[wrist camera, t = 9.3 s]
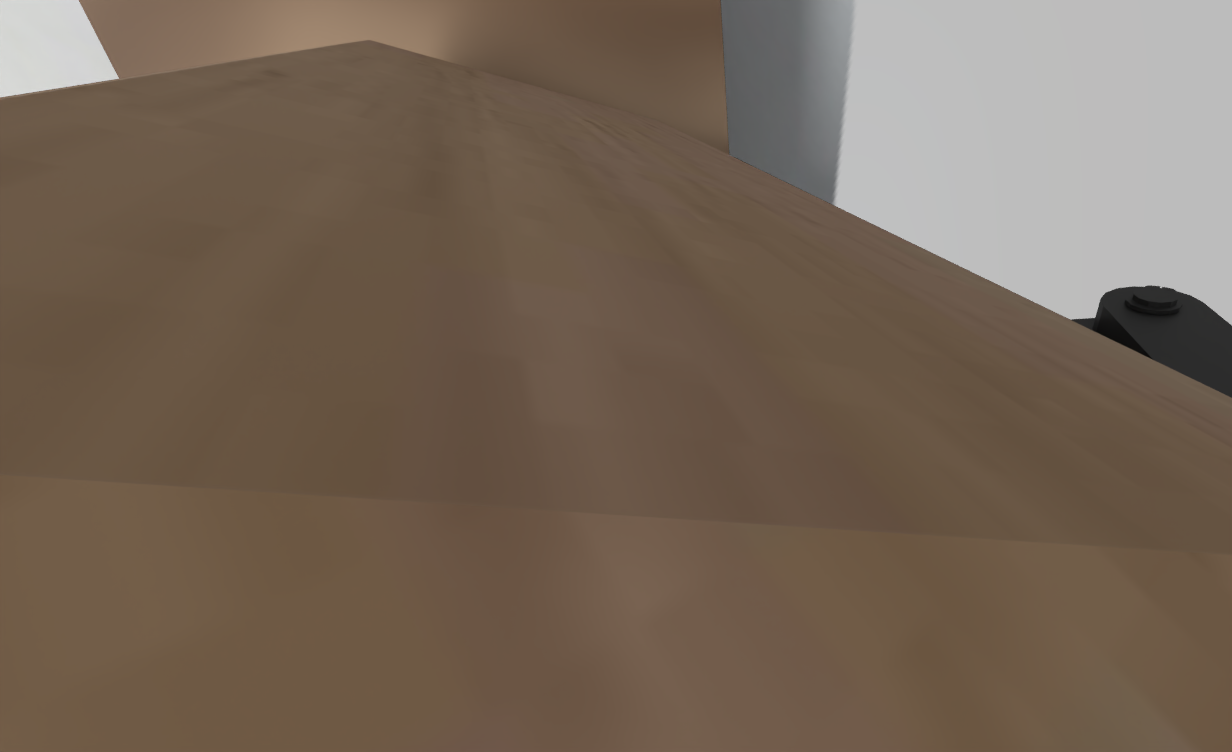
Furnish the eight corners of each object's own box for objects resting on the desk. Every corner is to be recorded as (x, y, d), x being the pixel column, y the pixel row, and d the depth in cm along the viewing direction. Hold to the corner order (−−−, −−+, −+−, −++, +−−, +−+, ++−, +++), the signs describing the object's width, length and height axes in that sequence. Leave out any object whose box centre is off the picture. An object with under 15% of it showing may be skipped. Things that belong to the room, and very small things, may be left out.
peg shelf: (697, 323, 33) (741, 378, 28) (350, 406, 31) (328, 483, 26) (657, -104, 23) (712, -139, 18) (155, -22, 21) (61, -36, 16)
